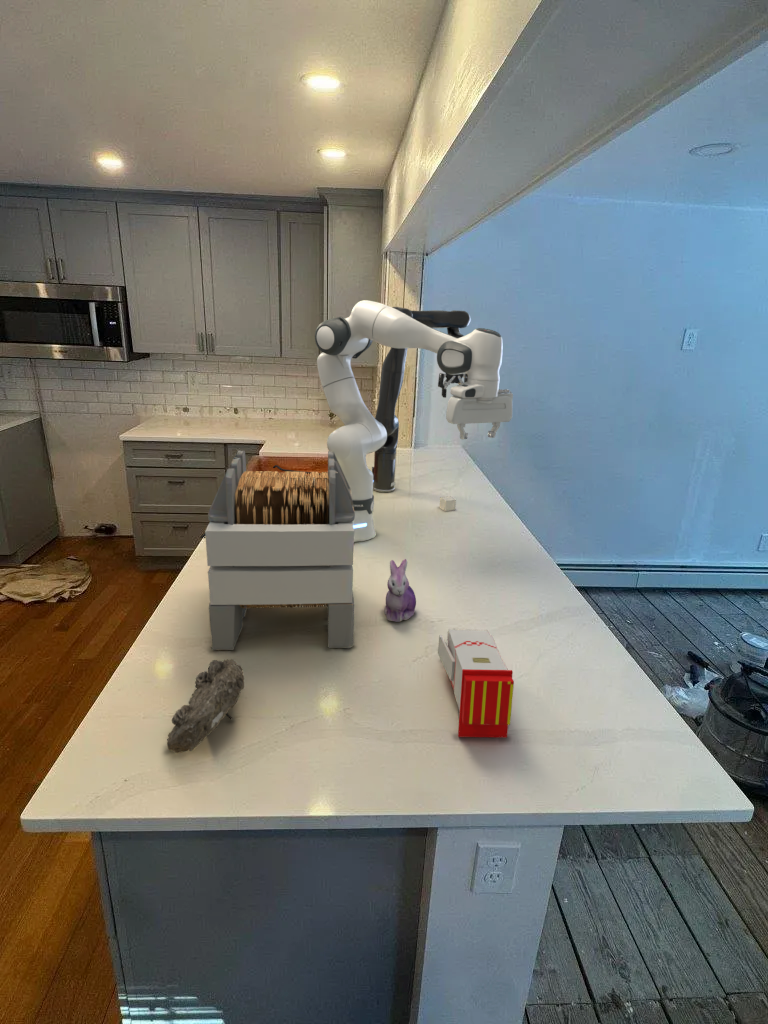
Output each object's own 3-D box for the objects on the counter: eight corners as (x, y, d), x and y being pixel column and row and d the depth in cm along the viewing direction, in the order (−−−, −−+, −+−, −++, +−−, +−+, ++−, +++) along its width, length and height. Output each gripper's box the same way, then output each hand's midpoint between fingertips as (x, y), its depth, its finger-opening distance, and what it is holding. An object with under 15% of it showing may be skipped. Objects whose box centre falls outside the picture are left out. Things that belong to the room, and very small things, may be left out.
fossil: (192, 660, 117) (244, 628, 112) (224, 691, 120) (276, 661, 115) (142, 746, 98) (202, 712, 93) (182, 779, 101) (242, 748, 96)
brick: (455, 510, 226) (456, 499, 225) (444, 511, 225) (445, 500, 223) (449, 506, 230) (450, 496, 229) (439, 507, 229) (440, 497, 227)
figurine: (392, 627, 141) (395, 572, 136) (374, 608, 149) (376, 556, 144) (425, 619, 145) (429, 566, 140) (405, 601, 154) (408, 550, 149)
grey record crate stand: (230, 583, 159) (223, 441, 145) (347, 582, 163) (350, 443, 149) (209, 652, 127) (196, 479, 114) (354, 649, 131) (359, 480, 117)
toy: (488, 613, 130) (523, 677, 101) (484, 667, 133) (517, 744, 104) (435, 612, 130) (455, 676, 101) (432, 666, 133) (451, 743, 103)
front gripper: (506, 387, 166) (501, 434, 170) (445, 388, 158) (441, 437, 162) (519, 390, 160) (513, 438, 165) (456, 391, 152) (452, 442, 157)
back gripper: (465, 358, 251) (462, 395, 257) (436, 358, 246) (434, 396, 252) (474, 360, 245) (471, 398, 250) (444, 360, 240) (442, 398, 245)
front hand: (477, 438), depth 164 cm, fingers open, 8 cm apart
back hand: (452, 397), depth 251 cm, fingers open, 8 cm apart
